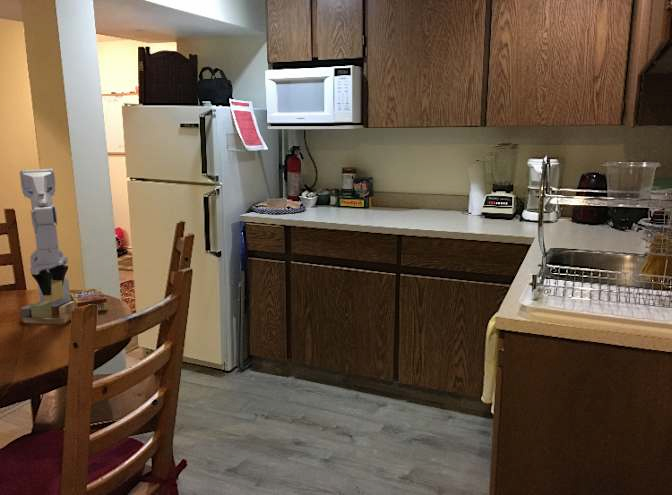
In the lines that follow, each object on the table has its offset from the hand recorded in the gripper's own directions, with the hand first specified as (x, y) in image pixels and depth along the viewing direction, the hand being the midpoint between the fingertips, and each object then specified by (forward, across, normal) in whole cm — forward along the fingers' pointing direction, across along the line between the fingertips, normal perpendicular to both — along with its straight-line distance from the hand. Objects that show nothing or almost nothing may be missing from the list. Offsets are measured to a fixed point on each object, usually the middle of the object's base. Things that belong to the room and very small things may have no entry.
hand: (52, 292), depth 172 cm
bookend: (+8, 0, +8) cm, 12 cm away
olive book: (+9, 0, +4) cm, 10 cm away
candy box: (+6, +8, -8) cm, 12 cm away
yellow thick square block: (+2, 0, 0) cm, 2 cm away
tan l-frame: (+8, 0, +2) cm, 9 cm away
